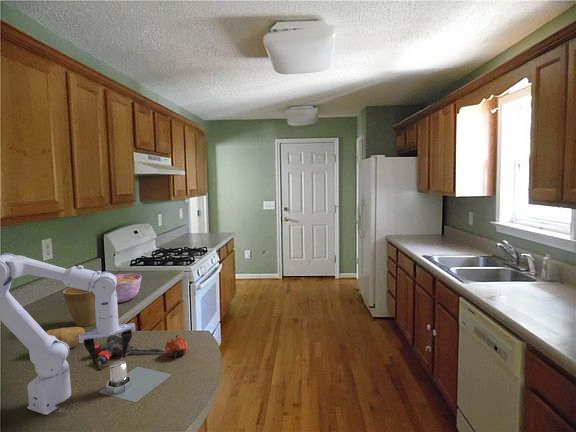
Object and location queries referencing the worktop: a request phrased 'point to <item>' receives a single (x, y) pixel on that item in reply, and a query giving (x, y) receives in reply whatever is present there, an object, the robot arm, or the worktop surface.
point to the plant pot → (81, 306)
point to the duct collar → (120, 388)
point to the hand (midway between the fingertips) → (109, 359)
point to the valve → (119, 350)
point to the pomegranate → (176, 347)
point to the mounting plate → (140, 383)
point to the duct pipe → (118, 373)
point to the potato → (67, 335)
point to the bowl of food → (127, 286)
